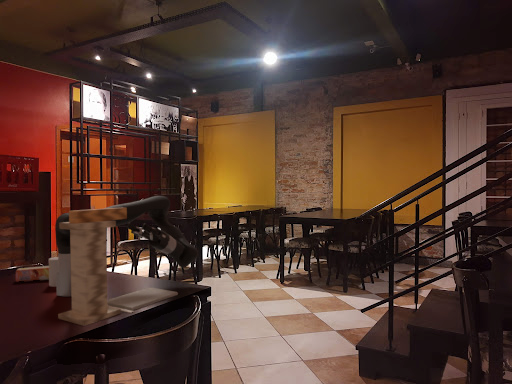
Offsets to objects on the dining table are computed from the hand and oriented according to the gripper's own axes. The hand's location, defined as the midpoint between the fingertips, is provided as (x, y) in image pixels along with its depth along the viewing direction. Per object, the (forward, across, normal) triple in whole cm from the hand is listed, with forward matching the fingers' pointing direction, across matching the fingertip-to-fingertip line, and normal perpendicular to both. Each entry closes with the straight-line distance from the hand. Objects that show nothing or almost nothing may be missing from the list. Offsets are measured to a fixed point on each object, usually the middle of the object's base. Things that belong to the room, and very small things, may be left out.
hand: (135, 225), depth 148 cm
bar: (+15, 0, +5) cm, 16 cm away
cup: (-15, -52, +25) cm, 59 cm away
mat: (-16, 0, +24) cm, 29 cm away
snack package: (-16, -68, +25) cm, 75 cm away
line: (-5, 0, +30) cm, 31 cm away
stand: (+3, 0, +35) cm, 35 cm away
